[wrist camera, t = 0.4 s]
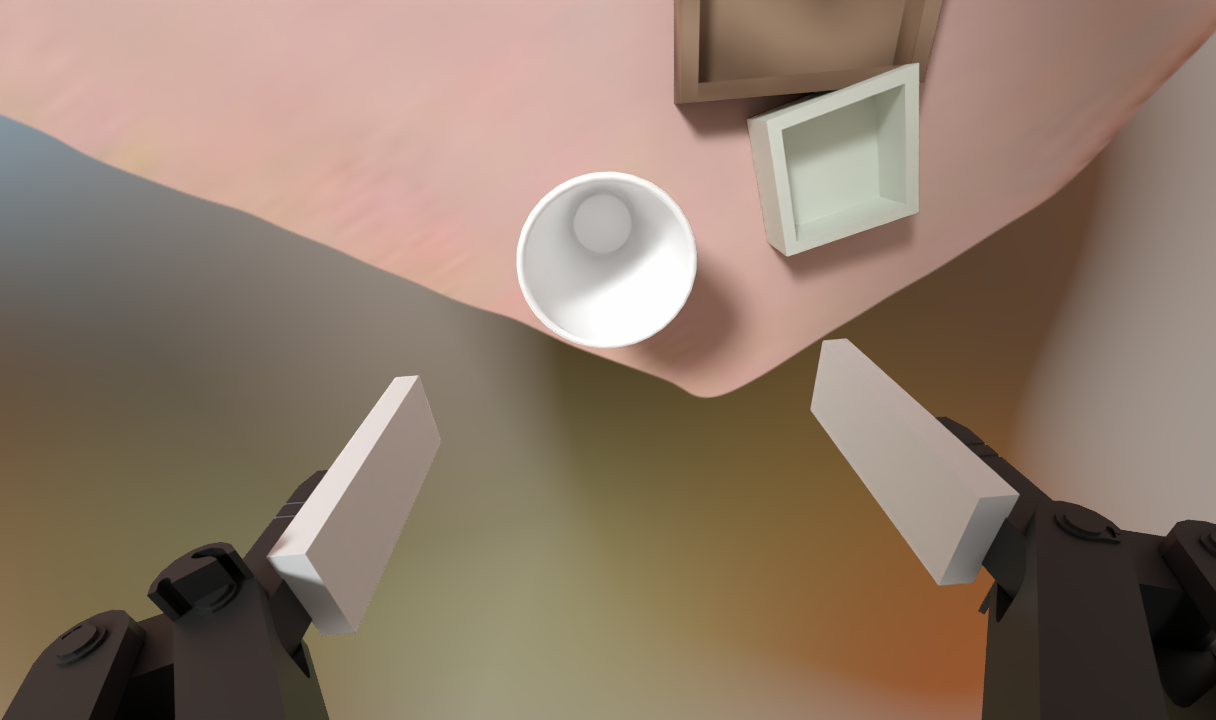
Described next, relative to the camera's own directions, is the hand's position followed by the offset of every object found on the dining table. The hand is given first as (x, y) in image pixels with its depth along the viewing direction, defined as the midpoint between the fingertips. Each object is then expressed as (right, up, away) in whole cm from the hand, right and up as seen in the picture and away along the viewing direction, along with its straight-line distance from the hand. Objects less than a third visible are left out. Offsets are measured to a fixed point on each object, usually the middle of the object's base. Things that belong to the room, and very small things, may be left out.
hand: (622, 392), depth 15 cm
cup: (-1, +12, +19) cm, 22 cm away
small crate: (+15, +15, +17) cm, 28 cm away
